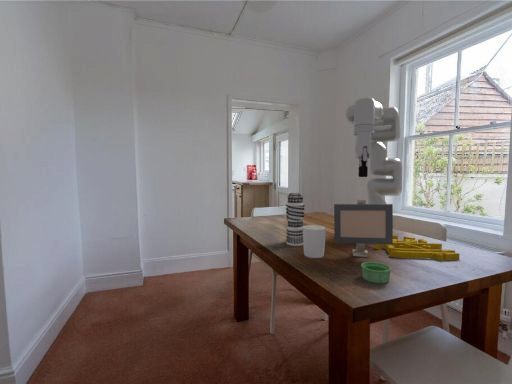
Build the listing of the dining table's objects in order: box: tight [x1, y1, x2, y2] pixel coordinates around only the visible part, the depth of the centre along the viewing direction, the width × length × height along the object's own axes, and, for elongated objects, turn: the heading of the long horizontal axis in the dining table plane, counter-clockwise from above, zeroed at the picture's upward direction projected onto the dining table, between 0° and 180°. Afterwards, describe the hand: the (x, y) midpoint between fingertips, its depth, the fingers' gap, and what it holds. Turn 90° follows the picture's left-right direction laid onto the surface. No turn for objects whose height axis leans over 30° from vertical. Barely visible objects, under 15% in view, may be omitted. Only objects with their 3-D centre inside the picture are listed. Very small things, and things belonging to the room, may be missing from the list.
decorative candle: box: [285, 192, 306, 247], centre depth 131 cm, size 9×9×25 cm
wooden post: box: [351, 198, 370, 258], centre depth 112 cm, size 4×6×24 cm
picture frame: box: [333, 203, 394, 245], centre depth 109 cm, size 2×22×16 cm, turn 75°
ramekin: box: [360, 261, 392, 284], centre depth 87 cm, size 9×9×4 cm
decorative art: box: [374, 234, 461, 262], centre depth 123 cm, size 34×3×30 cm
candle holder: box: [302, 224, 327, 259], centre depth 113 cm, size 10×10×12 cm
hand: (362, 176), depth 108 cm, fingers closed
